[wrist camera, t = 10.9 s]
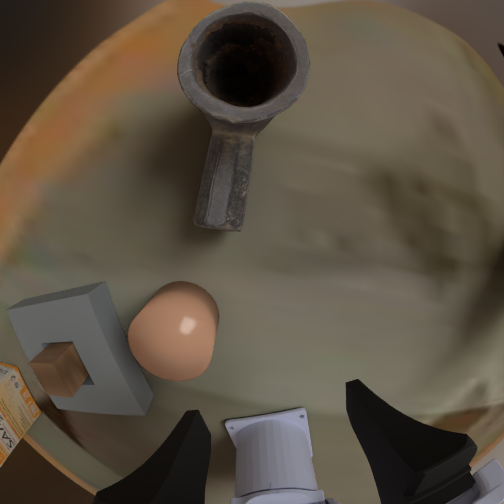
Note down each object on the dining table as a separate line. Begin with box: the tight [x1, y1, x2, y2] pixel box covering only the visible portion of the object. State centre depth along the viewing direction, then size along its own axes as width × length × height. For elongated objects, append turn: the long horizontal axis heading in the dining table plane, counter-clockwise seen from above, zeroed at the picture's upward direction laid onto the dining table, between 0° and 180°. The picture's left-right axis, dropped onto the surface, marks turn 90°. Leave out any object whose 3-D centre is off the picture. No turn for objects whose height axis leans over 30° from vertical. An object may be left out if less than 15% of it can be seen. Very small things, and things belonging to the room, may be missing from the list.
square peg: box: [29, 341, 89, 398], centre depth 19 cm, size 3×3×6 cm
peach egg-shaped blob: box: [128, 281, 219, 381], centre depth 19 cm, size 6×6×5 cm
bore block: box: [6, 282, 154, 416], centre depth 20 cm, size 12×12×3 cm
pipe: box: [177, 2, 310, 232], centre depth 14 cm, size 6×13×8 cm, turn 171°
